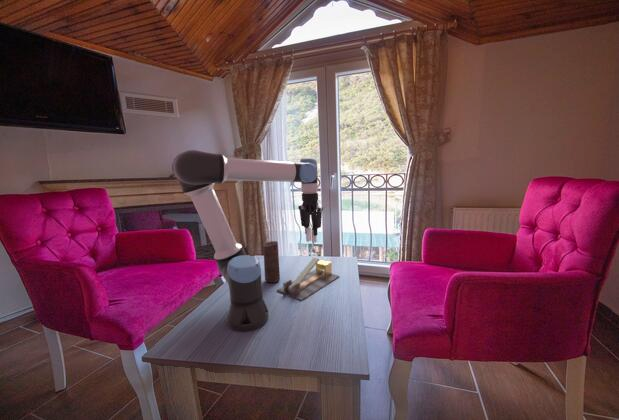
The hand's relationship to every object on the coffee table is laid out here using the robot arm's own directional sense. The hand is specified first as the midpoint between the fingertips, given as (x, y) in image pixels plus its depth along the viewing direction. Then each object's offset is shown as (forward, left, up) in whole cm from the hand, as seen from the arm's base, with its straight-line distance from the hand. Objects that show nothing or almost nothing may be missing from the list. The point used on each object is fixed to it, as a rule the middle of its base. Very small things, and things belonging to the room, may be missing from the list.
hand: (311, 241), depth 126 cm
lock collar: (+9, 0, -21) cm, 22 cm away
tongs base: (-3, 0, -21) cm, 21 cm away
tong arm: (-6, 0, -15) cm, 16 cm away
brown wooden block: (-11, +17, -21) cm, 29 cm away
